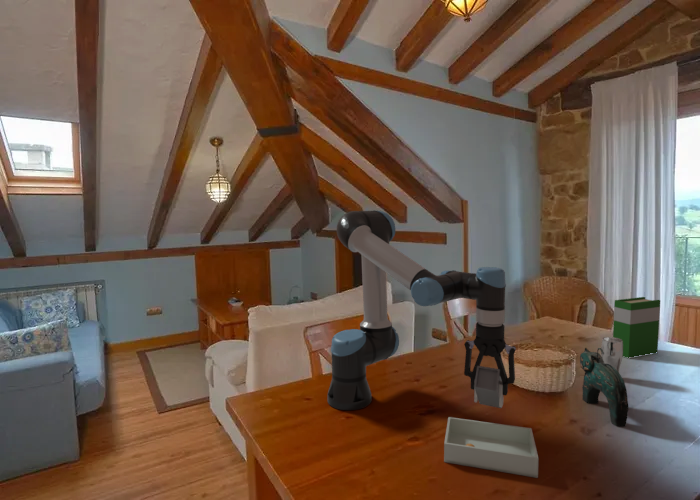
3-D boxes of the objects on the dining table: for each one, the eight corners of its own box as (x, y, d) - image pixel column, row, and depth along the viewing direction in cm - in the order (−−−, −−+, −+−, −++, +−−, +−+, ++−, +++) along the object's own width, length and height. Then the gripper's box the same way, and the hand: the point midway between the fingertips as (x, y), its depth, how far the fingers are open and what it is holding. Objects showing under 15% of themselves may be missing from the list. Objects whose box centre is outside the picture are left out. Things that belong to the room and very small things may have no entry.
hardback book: (640, 348, 186) (643, 296, 184) (657, 353, 179) (660, 300, 177) (612, 353, 180) (614, 300, 178) (628, 358, 173) (631, 303, 171)
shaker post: (482, 384, 122) (477, 365, 113) (503, 388, 120) (499, 369, 111) (479, 403, 119) (474, 385, 110) (501, 408, 116) (497, 390, 107)
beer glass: (625, 382, 150) (627, 342, 148) (604, 380, 151) (606, 341, 150) (616, 374, 156) (618, 337, 155) (597, 373, 158) (598, 336, 156)
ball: (471, 461, 104) (479, 453, 105) (470, 452, 103) (477, 445, 104) (462, 454, 106) (469, 447, 108) (461, 445, 105) (468, 439, 107)
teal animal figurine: (576, 397, 138) (578, 340, 137) (595, 397, 138) (597, 340, 136) (612, 428, 119) (615, 361, 117) (634, 428, 118) (637, 361, 117)
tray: (444, 461, 104) (444, 443, 103) (448, 433, 117) (448, 416, 116) (537, 477, 97) (538, 458, 96) (531, 445, 110) (531, 428, 110)
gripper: (528, 323, 111) (526, 404, 113) (458, 316, 120) (457, 391, 122) (526, 330, 105) (523, 416, 107) (452, 322, 114) (451, 401, 116)
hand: (488, 402), depth 115 cm, fingers closed on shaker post, 6 cm apart
